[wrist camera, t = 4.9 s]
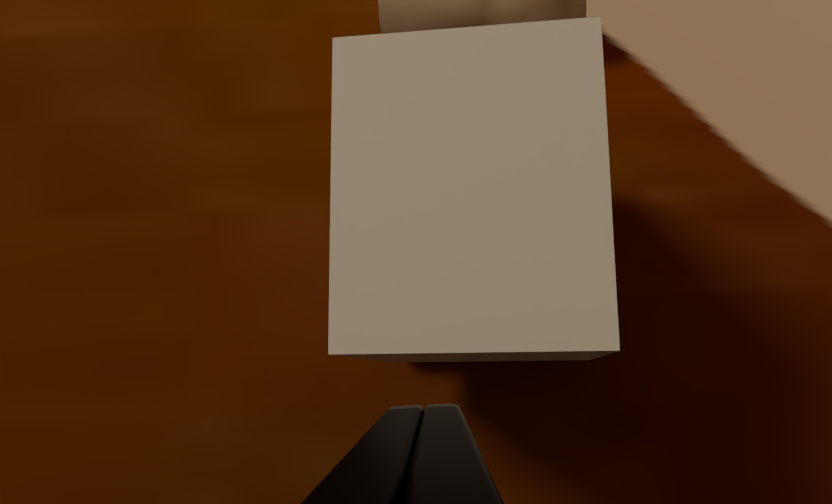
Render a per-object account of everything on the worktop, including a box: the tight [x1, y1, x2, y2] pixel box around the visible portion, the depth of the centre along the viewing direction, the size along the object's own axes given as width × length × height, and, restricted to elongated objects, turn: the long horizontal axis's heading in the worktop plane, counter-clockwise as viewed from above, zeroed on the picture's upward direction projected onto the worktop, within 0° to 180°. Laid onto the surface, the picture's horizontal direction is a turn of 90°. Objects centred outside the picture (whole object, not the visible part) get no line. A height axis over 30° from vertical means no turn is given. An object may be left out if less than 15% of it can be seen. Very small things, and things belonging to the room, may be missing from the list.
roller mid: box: [378, 0, 586, 34], centre depth 21 cm, size 6×2×2 cm
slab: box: [328, 16, 620, 362], centre depth 16 cm, size 6×5×6 cm
